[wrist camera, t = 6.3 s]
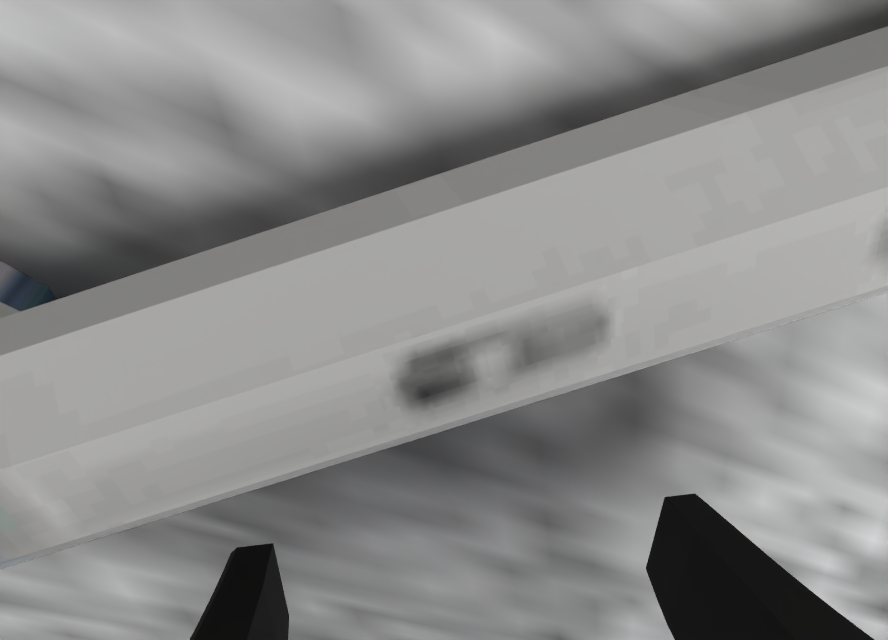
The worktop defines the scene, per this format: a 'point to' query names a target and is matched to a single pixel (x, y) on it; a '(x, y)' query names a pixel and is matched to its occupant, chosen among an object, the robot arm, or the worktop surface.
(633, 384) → the worktop surface
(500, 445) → the worktop surface
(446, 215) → the light grey piece
